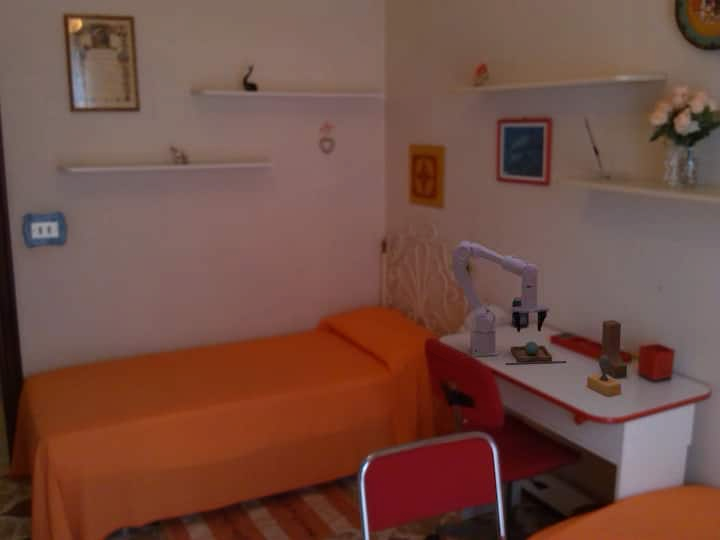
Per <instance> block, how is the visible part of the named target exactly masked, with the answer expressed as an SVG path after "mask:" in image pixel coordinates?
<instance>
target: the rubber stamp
mask: <svg viewBox="0 0 720 540" xmlns="http://www.w3.org/2000/svg"><path fill="white" fill-rule="evenodd" d="M598 359H599V360H598V365H599V369H600V371H601V373H597V374H592V375H587V378H586V379H587V381H586V386H587V387H588V388H590V389H591V390H594V391H595V392H598V393H600V394H601V395H604V396H605V397H612V396H617V395H621V394H622V392H621V391H622V383H621V382H620V381H617V380H615V379H613V378H612V377H609V376H607V373H606V372H607V369H608V367H609V365H610V359H609V357H608V356H606V355H603V356H602V355H601V356H599V358H598Z"/></svg>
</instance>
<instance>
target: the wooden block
mask: <svg viewBox="0 0 720 540" xmlns="http://www.w3.org/2000/svg"><path fill="white" fill-rule="evenodd" d="M621 329H622V324H621V322H619V321H617V320H614V319H611V320H604V321H602V331H601V333H602V334H601V356H603V355H606V356H608V357H609V359H610V365H609V367H608V369H607V372H606V375H609V376H611V378H614V379H619V378H621V379H622V378H627V375H628V374H627V371H628V366H627V364H626V363H625V362H624V361H623V358H622V357H621V356H622V355H621V351H620V350H621V334H622V333H621V331H622V330H621Z"/></svg>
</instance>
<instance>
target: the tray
mask: <svg viewBox="0 0 720 540" xmlns="http://www.w3.org/2000/svg"><path fill="white" fill-rule="evenodd" d="M538 348H539V349H538V352H537V353H536V354H535V355H529V354H527V353H526V351H525V345H522V346H520V345H519V346H515V345H514V346H510V352H511V354H512V357H514V359H515V362H516V363H523V362H551V361H553V356H552V354H551V353H550V352H549V350H548V349H547V348H546V346H545V345H538Z"/></svg>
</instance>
